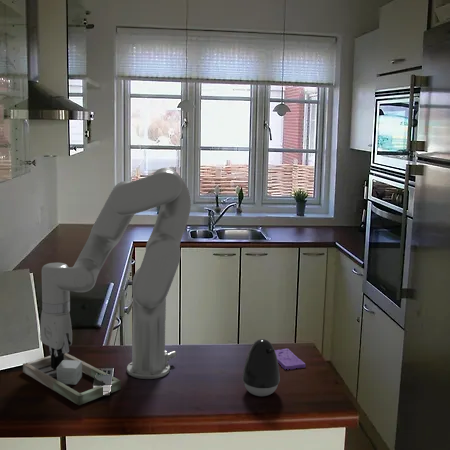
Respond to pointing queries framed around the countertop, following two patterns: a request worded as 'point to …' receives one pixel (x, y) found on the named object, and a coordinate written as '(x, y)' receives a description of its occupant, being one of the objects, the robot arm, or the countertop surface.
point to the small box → (69, 371)
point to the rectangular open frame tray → (43, 365)
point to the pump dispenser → (261, 369)
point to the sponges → (288, 359)
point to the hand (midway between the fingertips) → (57, 367)
